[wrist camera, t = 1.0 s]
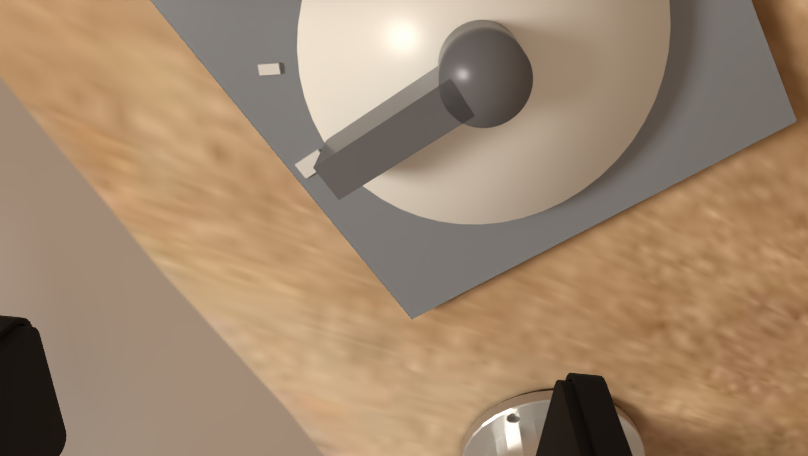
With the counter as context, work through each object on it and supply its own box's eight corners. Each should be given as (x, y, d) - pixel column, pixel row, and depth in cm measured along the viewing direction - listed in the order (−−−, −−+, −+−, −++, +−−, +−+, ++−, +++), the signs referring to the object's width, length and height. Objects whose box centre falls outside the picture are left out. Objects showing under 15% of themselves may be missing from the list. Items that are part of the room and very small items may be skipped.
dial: (555, -256, 21) (585, -300, 17) (713, 104, 27) (765, 140, 23) (231, 5, 26) (191, 22, 21) (426, 261, 32) (425, 314, 27)
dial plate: (780, 111, 28) (799, 122, 27) (412, 304, 35) (411, 321, 34) (583, -396, 20) (595, -420, 19) (152, -19, 27) (136, -15, 25)
